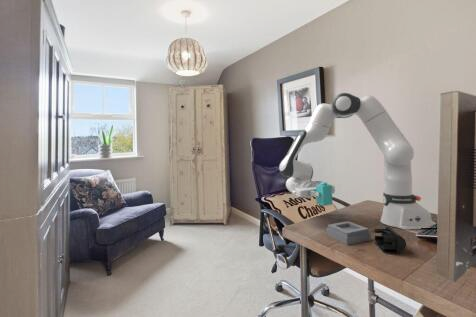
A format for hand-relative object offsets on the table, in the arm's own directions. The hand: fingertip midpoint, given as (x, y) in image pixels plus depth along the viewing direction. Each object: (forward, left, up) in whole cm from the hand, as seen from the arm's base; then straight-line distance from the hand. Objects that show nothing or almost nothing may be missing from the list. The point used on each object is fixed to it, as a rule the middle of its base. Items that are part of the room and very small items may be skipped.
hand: (325, 193), depth 120 cm
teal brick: (0, -1, -5) cm, 5 cm away
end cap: (-19, +22, -16) cm, 33 cm away
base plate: (-7, +12, -16) cm, 21 cm away
